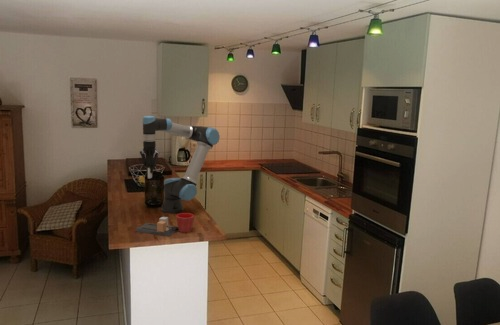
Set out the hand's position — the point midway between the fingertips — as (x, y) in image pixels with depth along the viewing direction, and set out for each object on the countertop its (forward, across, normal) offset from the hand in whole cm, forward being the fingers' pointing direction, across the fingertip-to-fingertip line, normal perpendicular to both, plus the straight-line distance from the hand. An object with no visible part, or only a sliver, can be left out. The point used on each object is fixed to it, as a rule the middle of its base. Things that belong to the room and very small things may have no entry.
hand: (149, 177), depth 265 cm
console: (+29, +12, -13) cm, 34 cm away
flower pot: (+30, +28, -6) cm, 41 cm away
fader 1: (+27, +14, -9) cm, 32 cm away
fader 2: (+27, +18, -17) cm, 37 cm away
